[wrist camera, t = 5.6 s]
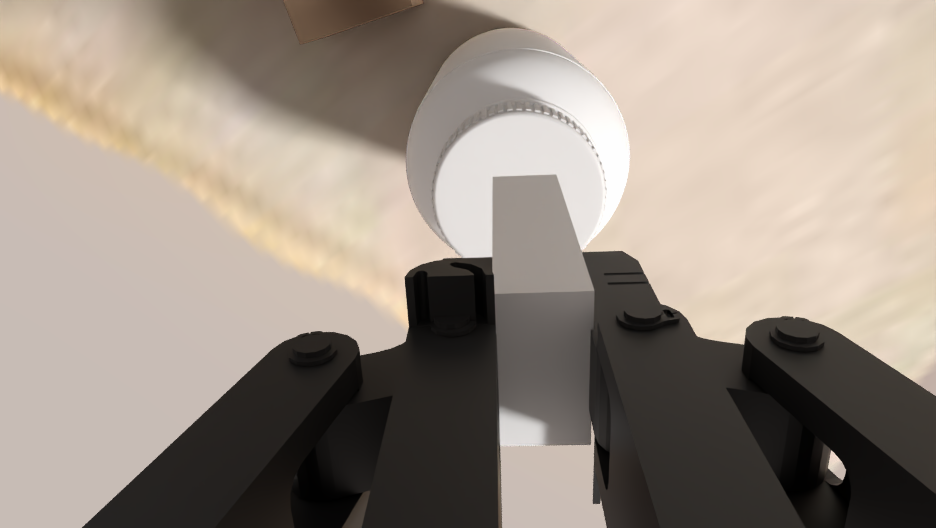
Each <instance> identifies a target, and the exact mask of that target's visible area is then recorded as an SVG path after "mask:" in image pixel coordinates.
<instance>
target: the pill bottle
mask: <svg viewBox="0 0 936 528" xmlns="http://www.w3.org/2000/svg"><path fill="white" fill-rule="evenodd" d="M629 164H630V147H629V139H628V133H627V129H626V126H625V122H624V119H623V117H622V114H621V112H620V110H619V108H618V106H617V104H616V102H615V100H614V99H613V97H612V95H611V94H610V93H609V91H608V90H607V89H606V87H605V86H604V85H603V84H602V83H601V81H600V80H599V79H598V78H597V77H596V76H595V75H594V74H593V73H591V72H590V71H589V70H588V69H587V68H586V67H585V66H584V65H583V64H582V63H581V62H579V61H578V60H577V59H576V58H575V57H574V56H573V55H572V54H571V53H570V52H568V51H567V50H566V49H565V48H564V47H563V46H562V45H560V44H559V43H558V42H556V41H555V40H553V39H551V38H550V37H548V36H546V35H543V34H541V33H538V32H535V31H532V30H527V29H521V28H502V29H496V30H491V31H488V32H485V33H482V34H479V35H477V36H475V37H473V38H471V39H469V40H468V41H466V42H465V43H463V44H462V45H461V46H459V47H458V48H457V49H456V50H455V51H454V52H453V53H452V54H451V55H450V56H449V57H448V58H447V59H446V61H445V62H444V63H443V65H442V66H441V68H440V70H439V71H438V73H437V75H436V77H435V79H434V80H433V82H432V84H431V86H430V88H429V89H428V91H427V93H426V95H425V97H424V98H423V100H422V102H421V104H420V106H419V108H418V110H417V112H416V114H415V117H414V119H413V122H412V125H411V128H410V132H409V136H408V141H407V148H406V172H407V179H408V184H409V188H410V191H411V194H412V197H413V200H414V202H415V204H416V206H417V208H418V210H419V212H420V214H421V216H422V217H423V219H424V220H425V222H426V223H427V224H428V226H429V227H430V228H431V229H432V230H433V232H434V233H435V234H436V235H437V236H438V237H439V238H440V239H441V240H442V241H443V242H445V243H446V244H447V245H448V246H450V247H451V248H452V249H454V250H455V252H456V253H457V254H458V255H460V256H462V257H461V258H479V257H492V188H493V177H500V176H527V175H554V174H556V175H557V178H558V181H559V184H560V187H561V190H562V193H563V196H564V199H565V202H566V205H567V209H568V212H569V215H570V218H571V221H572V224H573V227H574V230H575V233H576V236H577V239H578V242H579V245H580V248H581V251H582V249H583V248H584V249H585V247H586V246H587V244H588V243H589V242H590V241H591V240H592V239H593V238H594V237H595V236H596V235H597V234H598V233H599V232H600V231H601V230H602V229H603V227H604V226H605V225H606V224H607V222H608V221H609V219H610V218H611V216H612V215H613V213H614V211H615V210H616V208H617V206H618V204H619V202H620V200H621V197H622V195H623V192H624V189H625V186H626V182H627V178H628V172H629Z"/></svg>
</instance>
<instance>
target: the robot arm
mask: <svg viewBox="0 0 936 528" xmlns="http://www.w3.org/2000/svg"><path fill="white" fill-rule="evenodd" d="M405 287H406V298H407V309H408V321H409V329H408V334H407V338H406V342H404V343H403V344H401V345H399V346H396V347H394V348H391V349H388V350H384V351H380V352H376V353H372V354H366V355H361V356H360V351H359V347H358V345H357V342H356V341H355V340H354V339H352V338H351V337H349V336H348V335H344V334H339V333H335V332H321V331H316V332H311V333H310V334H309V333H304V334H300V335H298V336H297V337H295V338H292V339H289V340H286V341H284V342H282V343H281V344H279V345H278V346H276V347H275V348H274V349H272V350H271V351H270V352H269V353H268V354H267V355H266V356H265V357H264V358H263V359H262V360H260V361H259V362H258V363H257V364H256V365H255V366H254V367H253V368H252V369H251V370H250V371H249V372H248V373H247V374H245V375H244V376H243V377H242V378H241V379H240V380H239V381H238V382H237V383H236V384H235V385H234V386H233V387H232V388H231V389H230V390H228V391H227V392H226V393H225V394H224V395H223V396H222V397H221V398H220V399H219V400H218V401H217V402H216V403H215V404H213V405H212V406H211V407H210V408H209V409H208V410H207V411H206V412H205V413H204V414H203V415H202V416H201V417H200V418H199V419H197V421H195V422H194V423H193V424H192V425H191V426H190V427H189V428H188V429H187V430H186V431H185V432H184V433H182V434H181V435H180V436H179V437H178V438H177V439H176V440H175V441H174V442H173V443H172V444H171V445H170V446H169V447H168V448H167V449H165V450H164V451H163V452H162V453H161V454H160V455H159V456H158V457H157V458H156V459H155V460H154V461H153V462H152V463H151V464H149V466H147V467H146V468H145V469H144V470H143V471H142V472H141V473H140V474H139V475H138V476H137V477H136V478H134V479H133V480H132V481H131V482H130V483H129V484H128V485H127V486H126V487H125V488H124V489H123V490H122V491H121V492H120V493H119V494H117V495H116V496H115V497H114V498H113V499H112V500H111V501H110V502H109V503H108V504H107V505H106V506H105V507H104V508H102V509H101V510H100V511H99V512H98V513H97V514H96V515H95V516H94V517H93V518H92V519H91V520H90V521H89V522H88V523H86V524H85V525H84V526H83V527H82V528H361V527H362V528H502V504H501V461H500V446H542V445H590V444H591V421H592V425H593V430H594V435H595V442H594V479H593V481H594V482H593V504H600V500H601V501H602V506H603V511H604V516H605V520H606V526H607V528H936V396H935V395H933V394H932V393H930V392H928V391H927V390H925V389H924V388H922V387H921V386H919V385H918V384H916V383H915V382H913V381H912V380H910V379H909V378H907V377H906V376H904V375H903V374H901V373H900V372H898V371H897V370H895V369H893V368H892V367H890V366H889V365H887V364H886V363H884V362H883V361H881V360H880V359H878V358H877V357H875V356H874V355H872V354H871V353H869V352H868V351H866V350H864V349H863V348H861V347H860V346H858V345H857V344H855V343H854V342H852V341H851V340H849V339H848V338H846V337H845V336H843V335H842V334H840V333H838V332H837V331H834V330H832V329H830V328H828V327H826V326H824V325H822V324H818V323H815V322H811V321H809V320H807V319H805V318H799V317H795V318H793V317H788V316H782V317H780V318H766V319H763V320H759V321H756V322H753V323H752V324H751V325H750V326H748V327H747V328H746V335H745V343H744V345H742V344H734V343H727V342H719V341H714V340H708V339H703V338H700V337H697V336H696V334H695V332H694V331H693V329H692V327H691V325H690V324H689V322H688V320H687V319H686V318H685V317H684V316H683V315H682V314H681V313H680V312H679V311H677V310H675V309H673V308H670V307H668V306H666V305H661V304H660V302H659V301H658V299H657V297H656V295H655V293H654V291H653V289H652V287H651V285H650V284H649V281H648V279H647V277H646V275H645V274H644V272H643V270H642V268H641V266H640V264H639V262H638V260H636V259H634V258H633V257H631V256H629V255H628V254H626V253H624V252H623V251H609V252H582V251H581V248H580V245H579V242H578V239H577V236H576V233H575V230H574V227H573V224H572V221H571V218H570V215H569V212H568V209H567V205H566V202H565V199H564V196H563V193H562V190H561V187H560V184H559V181H558V178H557V175H556V174H554V175H527V176H500V177H493V188H492V257H479V258H447V259H443V260H440V261H433V262H429V263H426V264H422V265H420V266H418V267H416V268H414V269H412V270H410V271H409V272H408V274H407V275H406V276H405ZM831 450H832V451H833V452H834V453H835V454H836V455H837V456H838V458H839V459H840V460H841V461H842V463H843V465H844V467H845V469H846V474H845V477H844V479H843V481H842V480H841V479H839V478H838V477H837V476H836V475H835V474H833V473H832V472H831V471H830V470H829V469H828V463H829V458H830V453H831Z"/></svg>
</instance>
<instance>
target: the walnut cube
mask: <svg viewBox="0 0 936 528" xmlns="http://www.w3.org/2000/svg"><path fill="white" fill-rule="evenodd" d="M283 2H284V4H285V7H286V9H287V12H288V14H289V17H290V20H291V22H292V25H293V27H294V30H295V32H296V35H297V38H298V40H299V43H300V44H304V43H307V42H311V41H314V40H318V39H321V38H324V37H328V36H331V35H334V34H336V33H339V32H342V31H345V30H348V29H351V28H354V27H357V26H360V25H363V24H365V23H368V22H371V21H374V20H377V19H380V18H383V17H386V16H389V15H392V14H394V13H397V12H400V11H403V10H406V9H409V8H412V7H415V6H418V5H421V4H424V2H423V0H283Z"/></svg>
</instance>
